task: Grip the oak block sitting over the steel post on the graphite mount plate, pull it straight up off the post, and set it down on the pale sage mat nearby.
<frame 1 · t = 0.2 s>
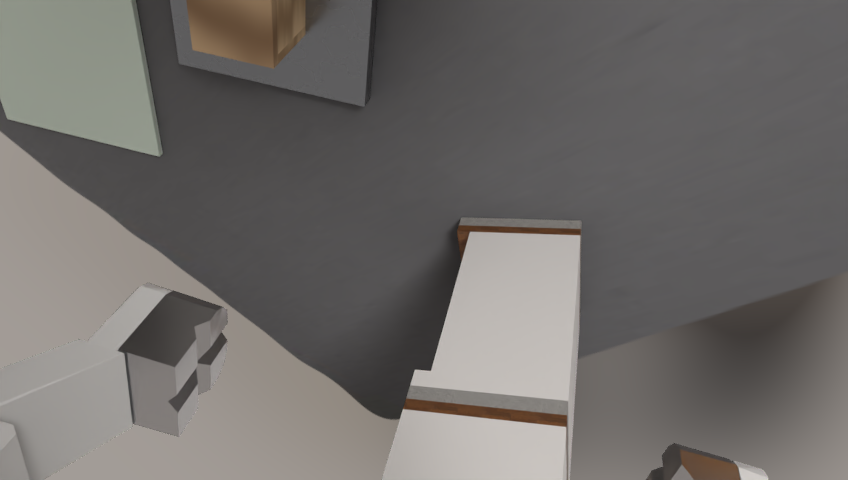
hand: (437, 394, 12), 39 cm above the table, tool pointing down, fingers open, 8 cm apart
sage mat: (66, 58, 57), on the table
white tall layered tower: (523, 265, 61), on the table
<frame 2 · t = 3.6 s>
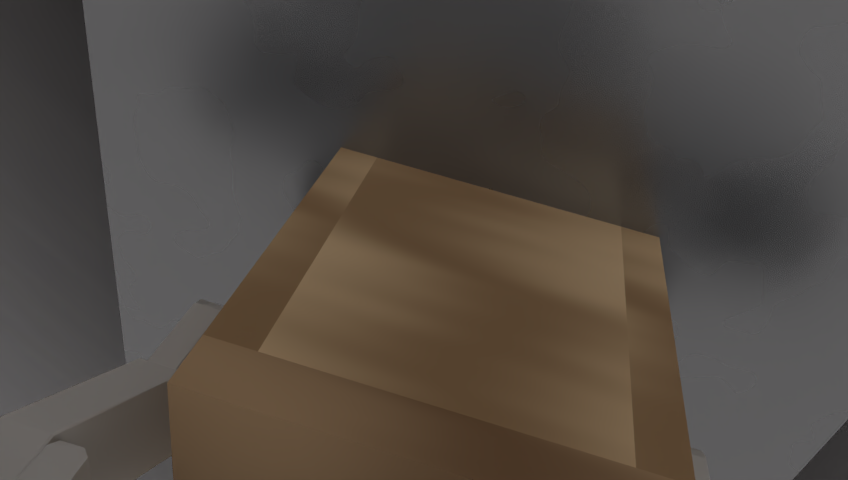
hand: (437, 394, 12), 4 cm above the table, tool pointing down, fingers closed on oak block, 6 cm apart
oak block: (460, 310, 13), point 1 cm above the table, touching gripper, post mount
post mount: (471, 269, 15), on the table
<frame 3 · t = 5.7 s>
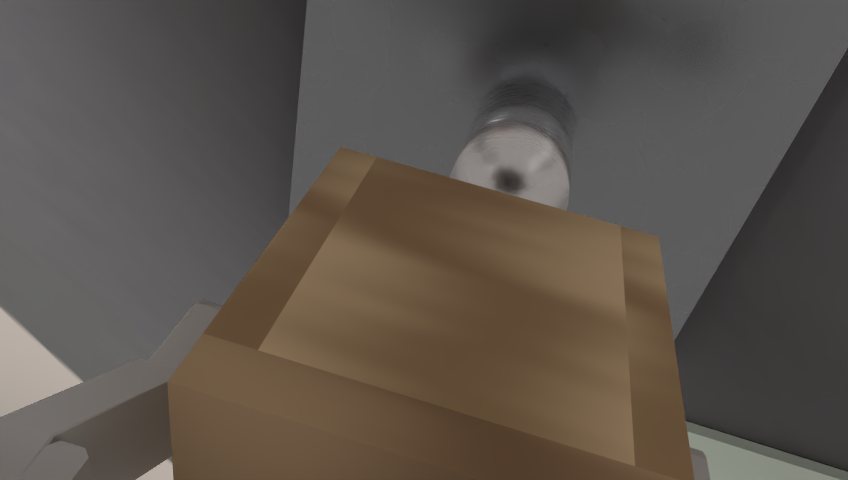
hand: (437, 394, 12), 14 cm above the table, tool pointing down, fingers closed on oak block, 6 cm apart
oak block: (460, 310, 13), point 12 cm above the table, touching gripper
post mount: (527, 114, 23), on the table
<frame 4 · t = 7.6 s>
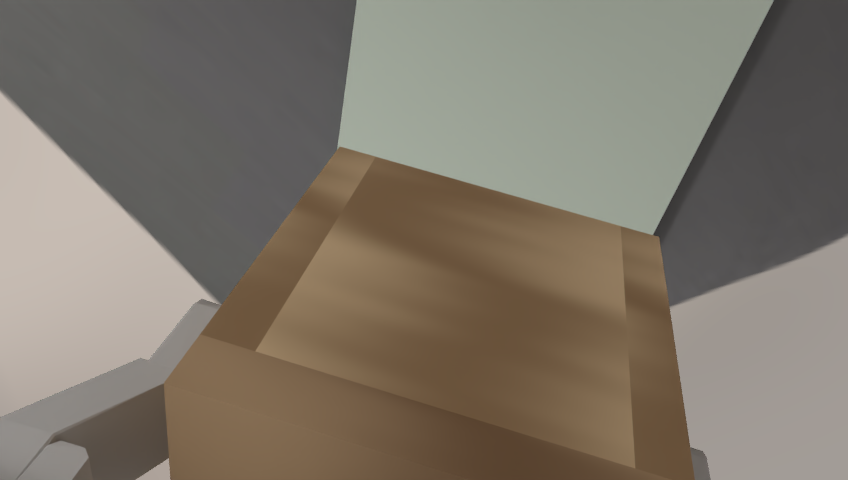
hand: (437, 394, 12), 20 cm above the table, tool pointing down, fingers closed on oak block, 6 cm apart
sage mat: (524, 88, 29), on the table
oak block: (459, 310, 13), point 18 cm above the table, touching gripper
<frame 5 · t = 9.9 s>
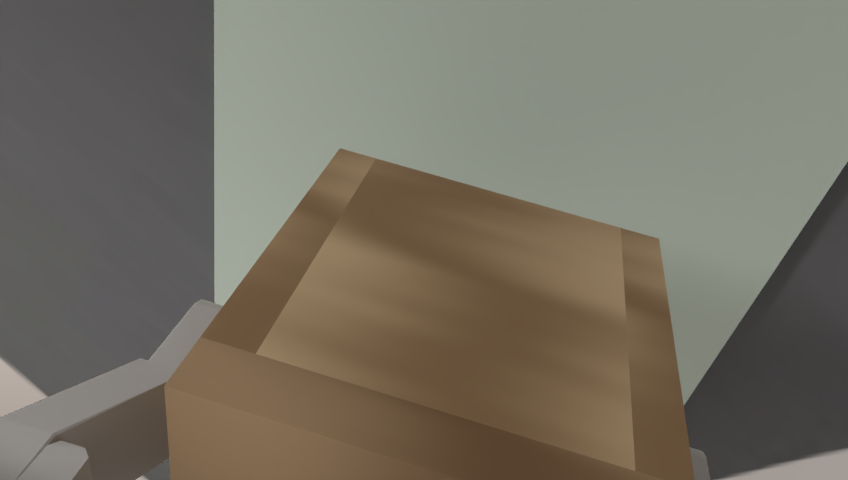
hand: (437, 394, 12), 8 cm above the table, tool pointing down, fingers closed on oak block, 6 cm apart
sage mat: (490, 175, 18), on the table
oak block: (460, 312, 13), point 6 cm above the table, touching gripper
when the fingers open (4 cm above the table, at t = 11.6 s): oak block drops 1 cm, resting on sage mat.
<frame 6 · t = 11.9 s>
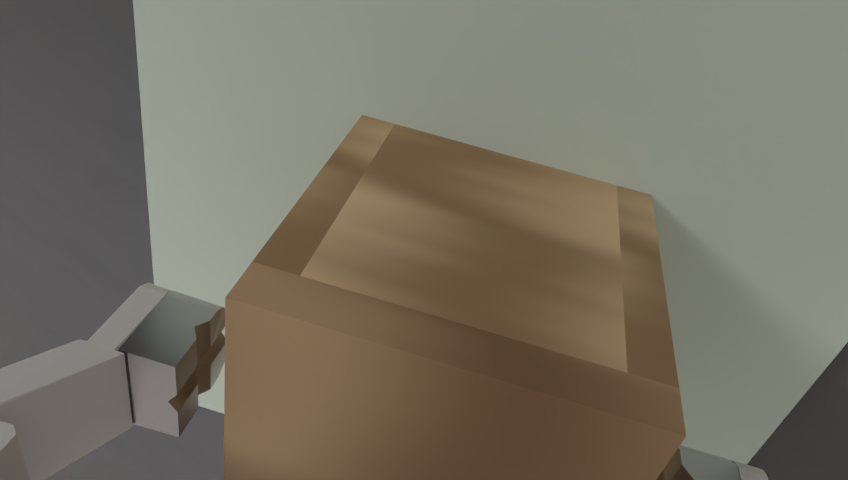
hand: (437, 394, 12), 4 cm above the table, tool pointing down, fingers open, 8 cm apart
sage mat: (476, 255, 15), on the table
oak block: (470, 268, 15), point 1 cm above the table, touching sage mat
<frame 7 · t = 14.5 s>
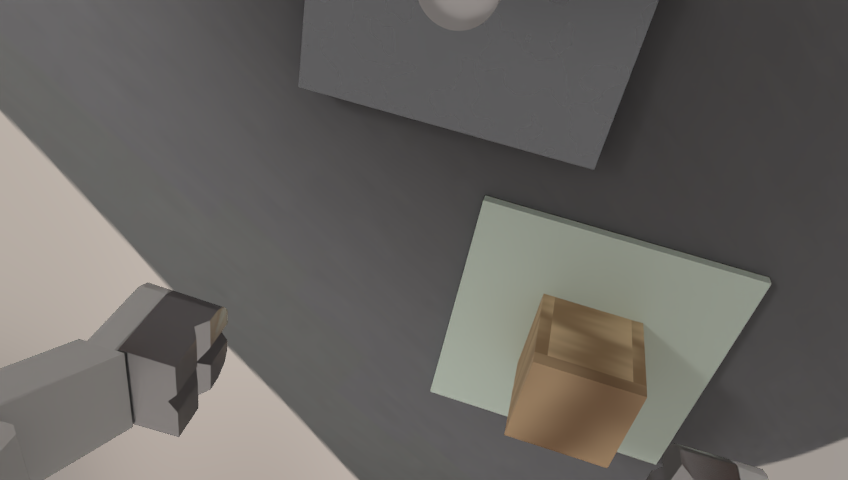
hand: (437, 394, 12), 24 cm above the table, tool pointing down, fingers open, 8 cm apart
sage mat: (578, 338, 40), on the table
oak block: (577, 344, 40), point 1 cm above the table, touching sage mat
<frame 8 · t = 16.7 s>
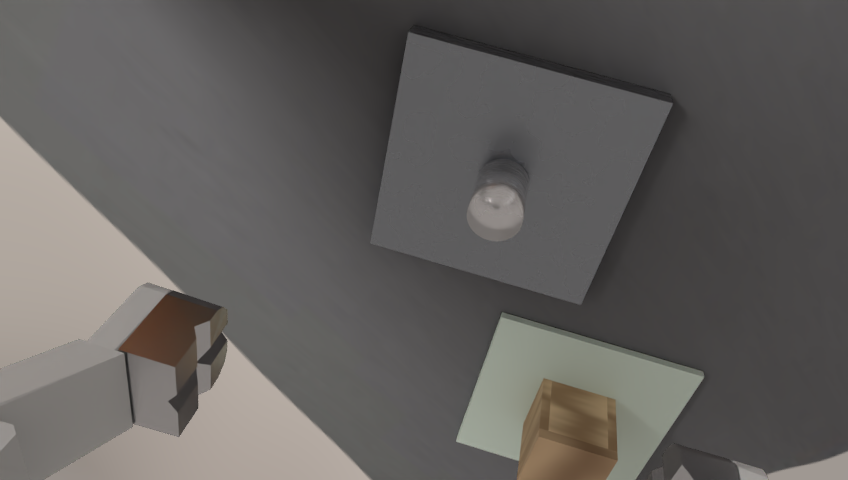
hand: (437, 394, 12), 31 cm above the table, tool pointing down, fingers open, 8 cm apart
sage mat: (568, 407, 55), on the table
oak block: (567, 412, 54), point 1 cm above the table, touching sage mat
post mount: (505, 171, 44), on the table
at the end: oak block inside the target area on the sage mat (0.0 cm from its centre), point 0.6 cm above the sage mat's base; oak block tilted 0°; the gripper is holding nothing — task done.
